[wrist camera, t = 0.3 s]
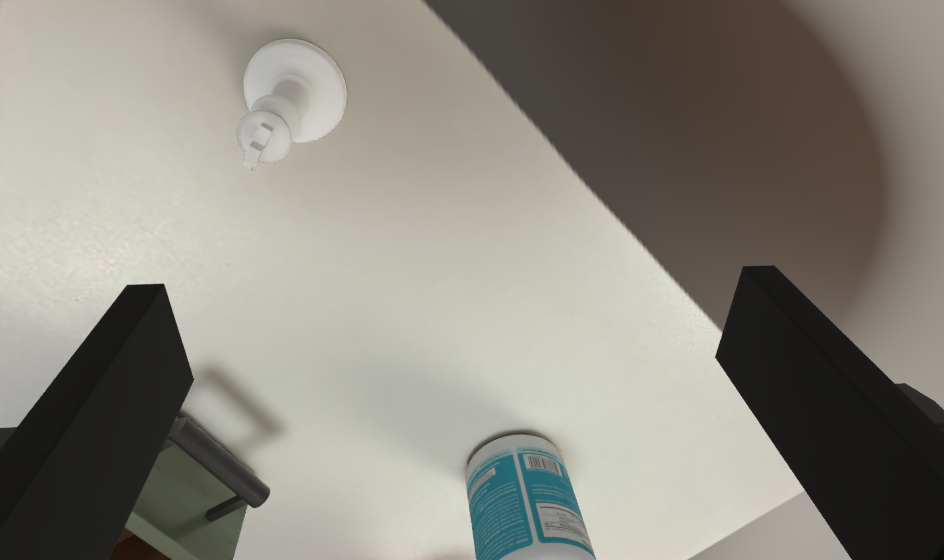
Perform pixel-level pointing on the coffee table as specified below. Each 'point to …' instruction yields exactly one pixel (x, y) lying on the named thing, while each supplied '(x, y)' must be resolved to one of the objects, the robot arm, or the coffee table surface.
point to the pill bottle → (524, 503)
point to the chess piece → (288, 99)
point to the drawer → (190, 501)
